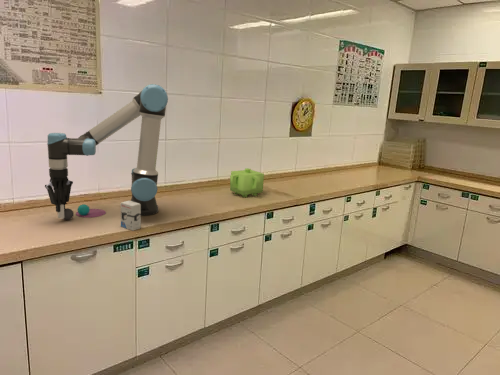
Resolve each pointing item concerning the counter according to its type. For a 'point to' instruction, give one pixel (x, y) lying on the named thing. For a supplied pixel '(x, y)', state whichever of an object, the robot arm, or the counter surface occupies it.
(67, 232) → the counter surface
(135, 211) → the ink box
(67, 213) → the black ball
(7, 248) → the counter surface
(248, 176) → the green ribbed block
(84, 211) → the teal ball
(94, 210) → the plum mark
